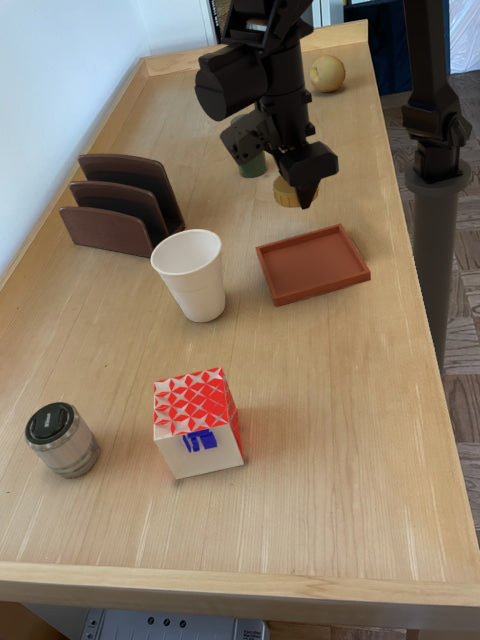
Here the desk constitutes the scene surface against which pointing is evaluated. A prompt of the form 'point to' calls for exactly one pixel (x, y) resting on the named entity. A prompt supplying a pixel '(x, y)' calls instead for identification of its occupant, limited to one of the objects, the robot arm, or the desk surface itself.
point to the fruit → (327, 73)
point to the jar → (252, 161)
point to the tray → (311, 264)
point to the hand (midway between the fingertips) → (297, 197)
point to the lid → (286, 193)
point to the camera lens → (62, 439)
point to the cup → (193, 272)
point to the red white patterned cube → (197, 423)
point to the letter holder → (122, 204)
